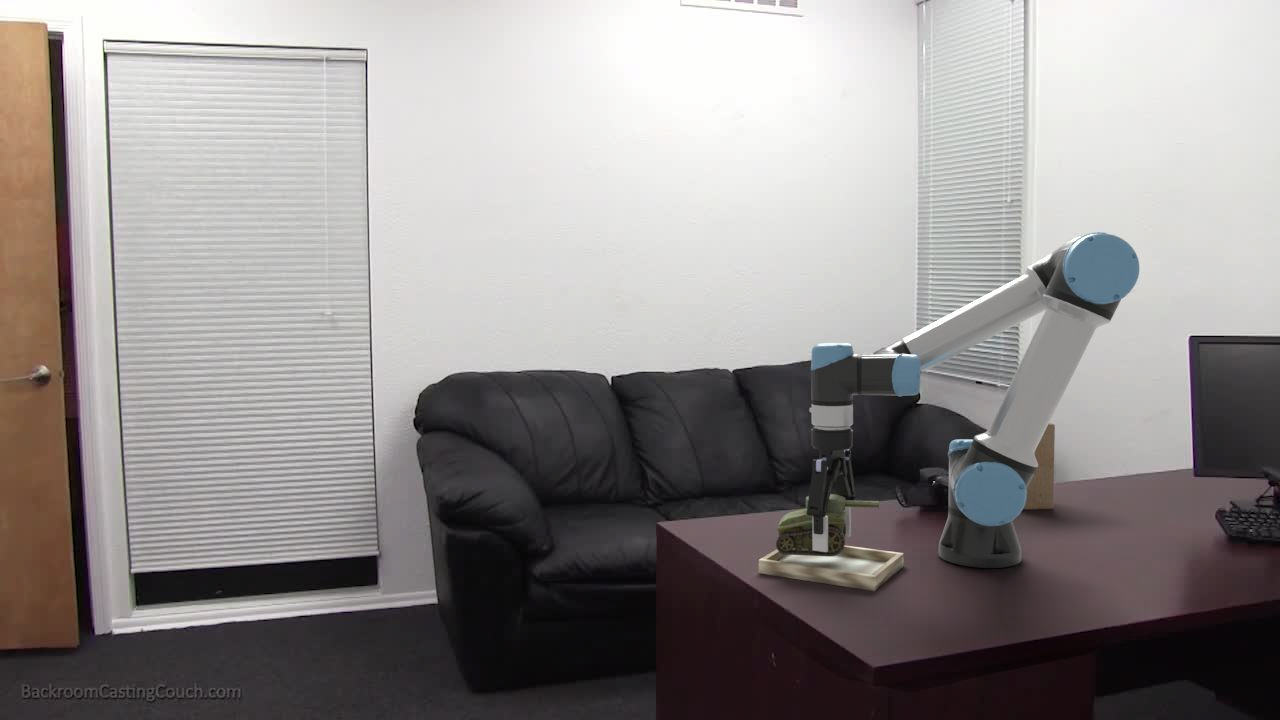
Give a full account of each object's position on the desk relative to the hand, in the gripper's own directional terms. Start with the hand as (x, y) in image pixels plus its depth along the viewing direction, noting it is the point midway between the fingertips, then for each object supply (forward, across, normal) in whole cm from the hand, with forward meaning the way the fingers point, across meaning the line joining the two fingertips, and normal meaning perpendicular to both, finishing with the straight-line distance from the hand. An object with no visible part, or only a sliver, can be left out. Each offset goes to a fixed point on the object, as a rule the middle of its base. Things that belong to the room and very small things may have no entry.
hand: (832, 543), depth 184 cm
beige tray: (+5, 0, 0) cm, 5 cm away
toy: (+1, 0, -1) cm, 2 cm away
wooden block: (+5, -71, +21) cm, 74 cm away
